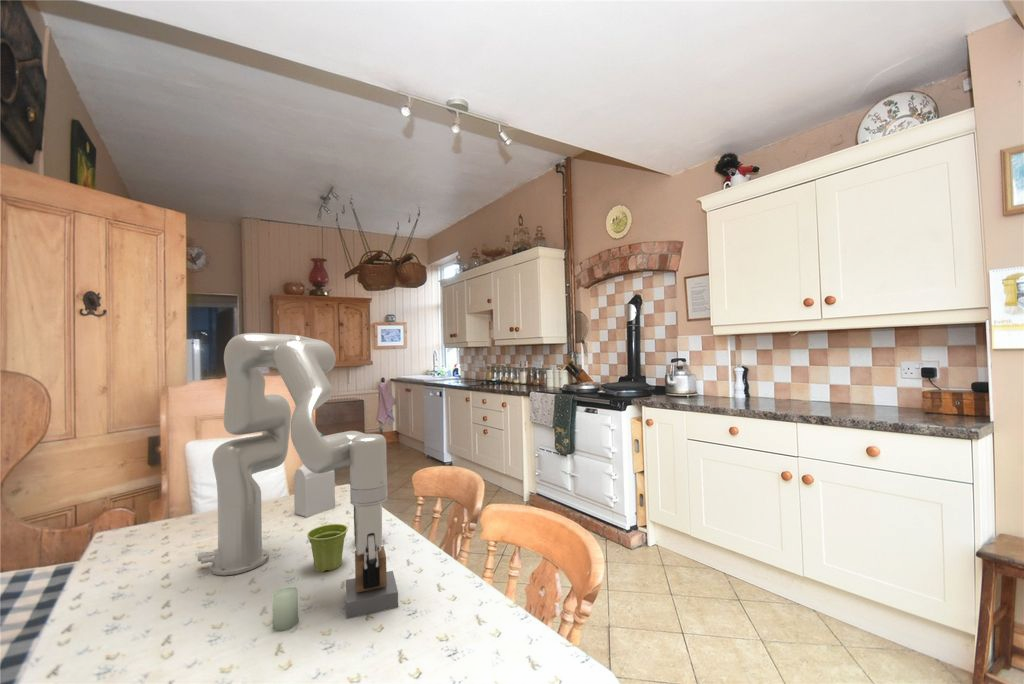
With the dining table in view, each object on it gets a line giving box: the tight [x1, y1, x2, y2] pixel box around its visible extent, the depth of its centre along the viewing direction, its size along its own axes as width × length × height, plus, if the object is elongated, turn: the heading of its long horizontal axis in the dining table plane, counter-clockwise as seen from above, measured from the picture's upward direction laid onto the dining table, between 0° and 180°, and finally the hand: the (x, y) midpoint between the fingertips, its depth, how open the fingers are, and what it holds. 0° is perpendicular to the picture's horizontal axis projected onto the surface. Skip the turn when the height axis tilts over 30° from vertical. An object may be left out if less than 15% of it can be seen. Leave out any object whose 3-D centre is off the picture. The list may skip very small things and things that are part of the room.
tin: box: [272, 586, 299, 632], centre depth 86 cm, size 4×4×6 cm
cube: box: [354, 545, 387, 593], centre depth 94 cm, size 6×6×6 cm
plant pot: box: [306, 523, 349, 572], centre depth 110 cm, size 9×9×9 cm
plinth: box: [345, 570, 399, 620], centre depth 93 cm, size 10×10×3 cm
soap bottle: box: [293, 430, 336, 518], centre depth 151 cm, size 11×8×27 cm
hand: (370, 578), depth 94 cm, fingers closed on cube, 6 cm apart
